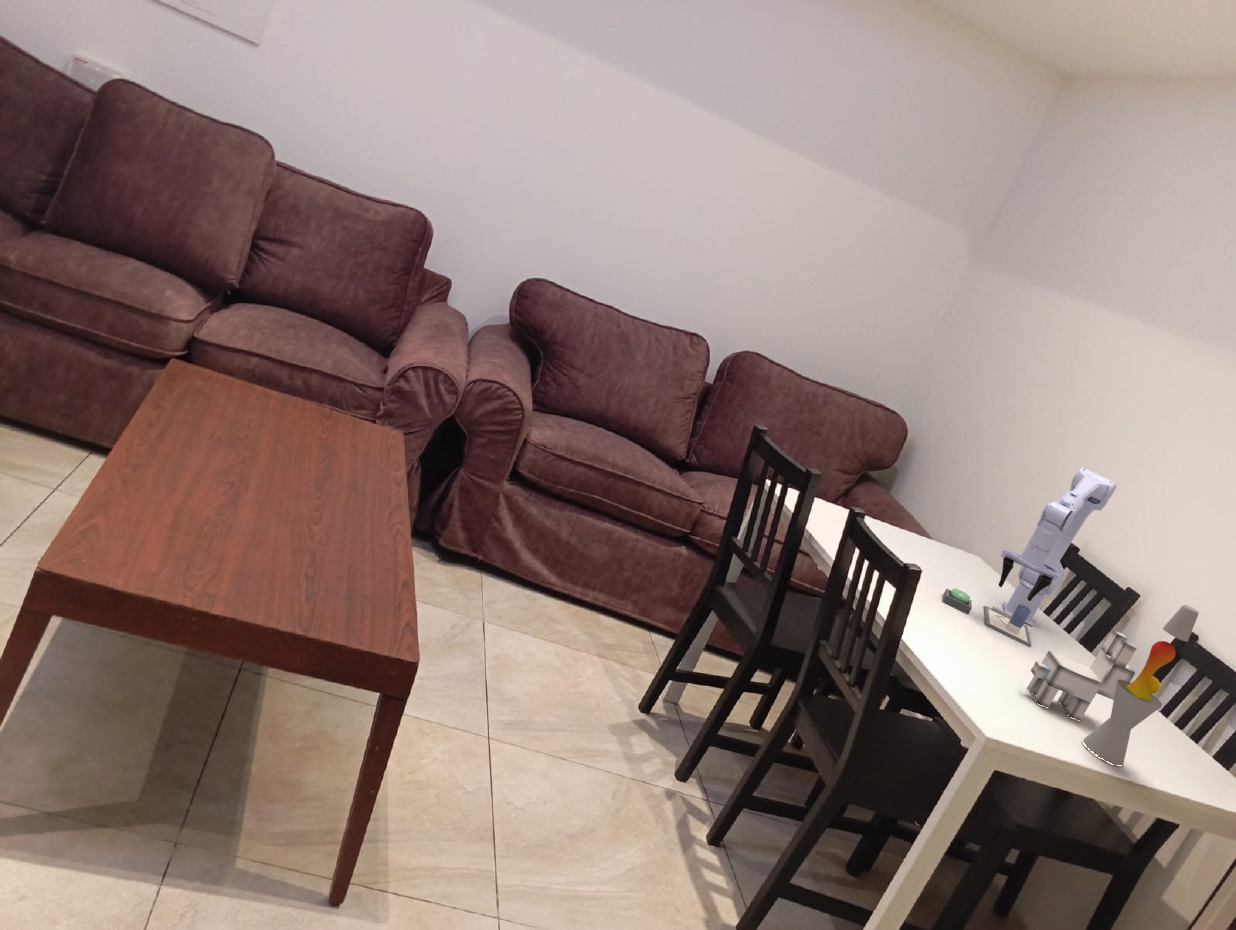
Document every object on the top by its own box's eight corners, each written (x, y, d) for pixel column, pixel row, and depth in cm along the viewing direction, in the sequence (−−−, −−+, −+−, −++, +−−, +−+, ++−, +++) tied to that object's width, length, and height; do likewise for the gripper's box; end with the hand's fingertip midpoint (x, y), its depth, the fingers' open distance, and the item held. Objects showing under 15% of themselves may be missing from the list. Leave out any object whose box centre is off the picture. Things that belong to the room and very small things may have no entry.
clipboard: (983, 607, 277) (986, 602, 277) (1026, 627, 275) (1029, 622, 274) (984, 625, 262) (987, 619, 262) (1030, 647, 260) (1033, 641, 259)
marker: (1005, 625, 266) (1018, 602, 264) (1017, 631, 265) (1030, 608, 263) (1005, 629, 263) (1019, 606, 261) (1018, 635, 262) (1031, 612, 260)
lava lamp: (1100, 763, 204) (1192, 614, 195) (1071, 735, 212) (1158, 591, 203) (1133, 770, 208) (1225, 624, 198) (1103, 743, 216) (1190, 601, 206)
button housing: (943, 594, 273) (946, 588, 273) (968, 606, 272) (971, 600, 271) (942, 602, 267) (946, 595, 266) (968, 614, 265) (971, 607, 264)
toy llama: (1016, 684, 229) (1060, 608, 224) (1088, 713, 230) (1133, 638, 224) (1026, 700, 222) (1071, 621, 217) (1100, 730, 222) (1147, 653, 217)
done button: (949, 593, 271) (952, 586, 271) (966, 601, 270) (970, 595, 270) (949, 598, 267) (952, 591, 266) (966, 606, 266) (970, 600, 265)
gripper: (1013, 537, 257) (987, 584, 261) (1069, 563, 254) (1042, 610, 258) (1011, 531, 264) (986, 576, 267) (1066, 556, 261) (1040, 602, 264)
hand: (1014, 592), depth 263 cm, fingers open, 7 cm apart
